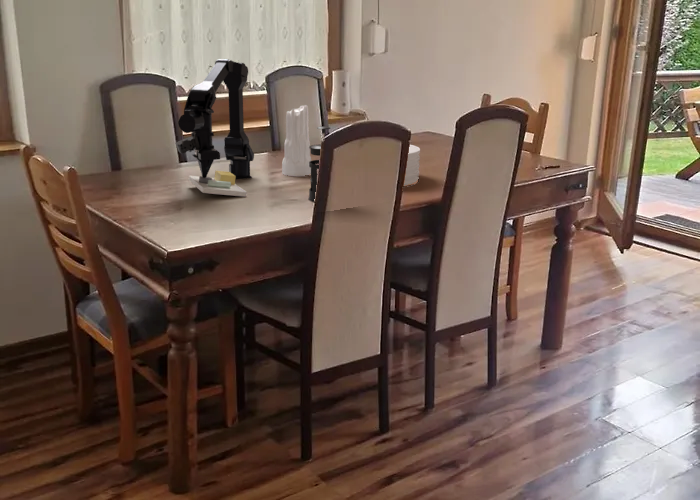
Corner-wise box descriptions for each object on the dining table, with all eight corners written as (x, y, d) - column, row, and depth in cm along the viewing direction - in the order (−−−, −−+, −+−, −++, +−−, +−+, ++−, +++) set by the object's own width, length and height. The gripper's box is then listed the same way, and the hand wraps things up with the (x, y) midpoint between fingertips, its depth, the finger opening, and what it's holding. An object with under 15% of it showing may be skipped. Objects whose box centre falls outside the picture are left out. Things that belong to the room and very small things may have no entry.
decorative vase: (277, 175, 282) (276, 105, 274) (290, 169, 291) (289, 102, 284) (304, 177, 278) (304, 107, 271) (316, 172, 287) (317, 103, 280)
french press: (300, 199, 246) (300, 126, 240) (319, 194, 254) (319, 123, 247) (329, 205, 240) (330, 130, 233) (348, 200, 247) (349, 127, 240)
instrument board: (228, 183, 266) (230, 170, 265) (246, 196, 248) (248, 182, 247) (188, 180, 260) (189, 166, 259) (202, 192, 242) (204, 178, 241)
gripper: (171, 125, 252) (173, 173, 256) (183, 134, 235) (185, 184, 240) (205, 124, 256) (206, 171, 261) (220, 132, 240) (221, 182, 244)
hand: (204, 177), depth 251 cm, fingers closed, pressing on instrument board
